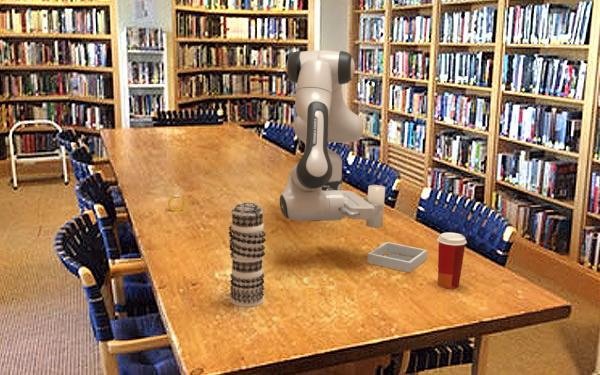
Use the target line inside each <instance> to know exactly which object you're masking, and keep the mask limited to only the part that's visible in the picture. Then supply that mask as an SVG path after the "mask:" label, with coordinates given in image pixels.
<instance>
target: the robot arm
mask: <svg viewBox="0 0 600 375" xmlns="http://www.w3.org/2000/svg"><path fill="white" fill-rule="evenodd" d="M287 58H288V59H287V60H286V61H287V62H286V64H285V65H286V66H285V67H286V68H285V69H286V74H287V77H288V79H289V81H291V82H292V83H294V84H296V89H295V95H294V96H295V97H294V98H295V99H294V102H295V103H294V104H295V113H296V115H297V116H296V117H295V119H294V121H293V132H294V134H295V136H296V137H297V138H298V139H299V140H300V141H301V142H302V143H303V144H304V146H305V147H304V151H303V154H302V156H301V157H300V159H299V161H298V162H297V163H296V164H294V165H293V167H291V169H290V172H289V175H288V179H287V182H286V185H285V188H284V189H283V191H282V193H281V194H280V196H279V207H280V211H281V214H282V215H283V216H284V218H286V220H287V219H288V220H290V221H296V222H297V221H298V222H311V221H312V222H313V221H341V220H343V218H344V217H347V218H349V219H352V220H365V221H366V220H370V219H373V218H374V216H375V212H376V211H382V210H383V205H382V204H376V205H372V204H369V203H368V202H367V201H368V197H362V196H360V195H359V194H357V193H356V192H355V191H351V190H343V178H342V177H343V176H342V172H343V161H342V160H343V158H341V156H340V155H339V154H338V153H337V152H335V151H333V150H332V149H330V148H329V146H328V144H329V143H338V144H339V143H341V144H342V143H343V144H345V143H346V144H347V143H355V142H358V141H359V140H360V139H361V138H362V136H363V134H364V129H365V128H364V126H365V125H364V122H363V120H362V118H361V117H360V115H358V114H356V113H355V112H353V111H352V110H351V109H350V108H349V107H348V106H347V104H346V102H345V101H344V96H343V85H345V84H349V83H350V81H352V79H353V77H354V74H355V70H356V65H355V64H356V63H355V60H354V59H353V55H352V54H351V53H349V52H347V51H344V50H339V51H338V50H337V51H336V50H329V49H328V50H327V49H320V50H318V49H317V50H305V51H302V50H298V51H294V52H293V51H292V52H291V53H290V55H288V57H287Z"/></svg>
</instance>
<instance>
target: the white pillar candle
mask: <svg viewBox="0 0 600 375" xmlns="http://www.w3.org/2000/svg"><path fill="white" fill-rule="evenodd" d="M367 188H368V189H367V198H368V201H367V202H368V203H369V204H372V205H376V204H382V205H383V210H382V211H376V212H375V216H374V218H373V219H370V220H365V226H366V227H369V228H375V229H377V228H378V229H379V228H382V227H383V221H384V212H385V211H384V210H385V208H384V207H385V198H386V196H385V195H386V186H384V185H381V184H380V185H379V184H370V185H368V187H367Z"/></svg>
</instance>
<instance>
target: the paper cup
mask: <svg viewBox="0 0 600 375" xmlns="http://www.w3.org/2000/svg"><path fill="white" fill-rule="evenodd" d="M436 241H437V242H438V249H437V250H438V251H437V252H438V254H437V255H438V256H437V260H438V262H437V266H438V267H437V283H438V284H437V285H438V286H440V287H441V288H444V289H451V290H452V289H456V288H459V285H460V280H461V275H462V269H463V263H464V256H465V255H464V253H465V247H466V244H467V243H468V242H467V240H466V237H465V235H463V234H461V233H456V232H443V233H441V234H440V235H439V236H438V238H437V239H436Z"/></svg>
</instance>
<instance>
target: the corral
mask: <svg viewBox="0 0 600 375" xmlns="http://www.w3.org/2000/svg"><path fill="white" fill-rule="evenodd" d="M428 252H429V251H428V249H424V248H419V247H414V246H409V245H404V244H399V243H395V242H389V241H386V242H384V243H383V244H380V245H379V246H377V247H376V248H374V249H372V250H371V251H369V252H368V253H367V262H366V263H367V264H369V265H373V266H378V267H383V268H387V269H392V270H395V271H396V270H397V271H400V272H405V273H408V274H409V273H412V272H413V271H414V270H415V269H416V268H418V267H419V266H420V265H422V264H423V263H425V262H426V260H428ZM386 253H388V254H387V255H385V254H386Z"/></svg>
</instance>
